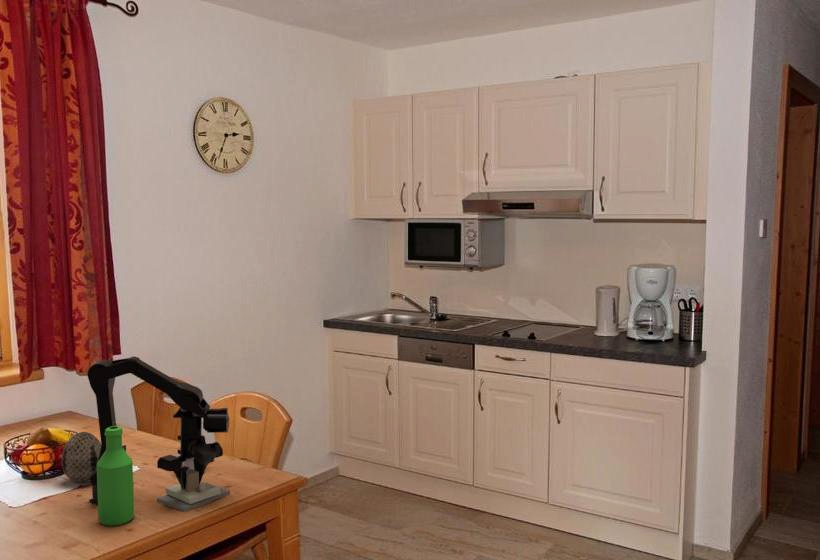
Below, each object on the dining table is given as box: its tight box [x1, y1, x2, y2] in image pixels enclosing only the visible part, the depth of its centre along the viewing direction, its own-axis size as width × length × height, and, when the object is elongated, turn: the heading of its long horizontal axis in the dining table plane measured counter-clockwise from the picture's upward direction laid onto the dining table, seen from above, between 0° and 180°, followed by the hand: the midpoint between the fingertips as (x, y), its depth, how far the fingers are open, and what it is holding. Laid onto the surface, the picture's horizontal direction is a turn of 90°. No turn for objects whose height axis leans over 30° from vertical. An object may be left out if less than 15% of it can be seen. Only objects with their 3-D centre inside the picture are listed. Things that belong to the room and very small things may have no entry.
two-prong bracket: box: [164, 469, 222, 504], centre depth 215 cm, size 10×12×7 cm
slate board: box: [156, 481, 231, 513], centre depth 216 cm, size 16×12×4 cm
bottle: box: [97, 425, 135, 527], centre depth 199 cm, size 9×9×25 cm
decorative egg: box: [61, 431, 101, 484], centre depth 227 cm, size 12×12×15 cm
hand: (190, 486), depth 215 cm, fingers open, 5 cm apart
